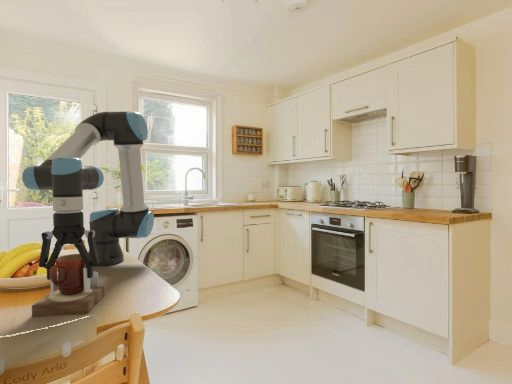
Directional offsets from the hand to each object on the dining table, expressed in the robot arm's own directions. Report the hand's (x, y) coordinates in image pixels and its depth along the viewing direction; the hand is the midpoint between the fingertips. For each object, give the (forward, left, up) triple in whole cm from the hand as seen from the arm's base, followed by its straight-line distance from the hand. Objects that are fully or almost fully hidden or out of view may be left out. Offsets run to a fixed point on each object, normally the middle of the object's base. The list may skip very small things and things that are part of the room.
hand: (70, 289), depth 94 cm
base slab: (0, 0, -5) cm, 5 cm away
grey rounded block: (-18, -2, -5) cm, 19 cm away
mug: (0, -1, -1) cm, 1 cm away
